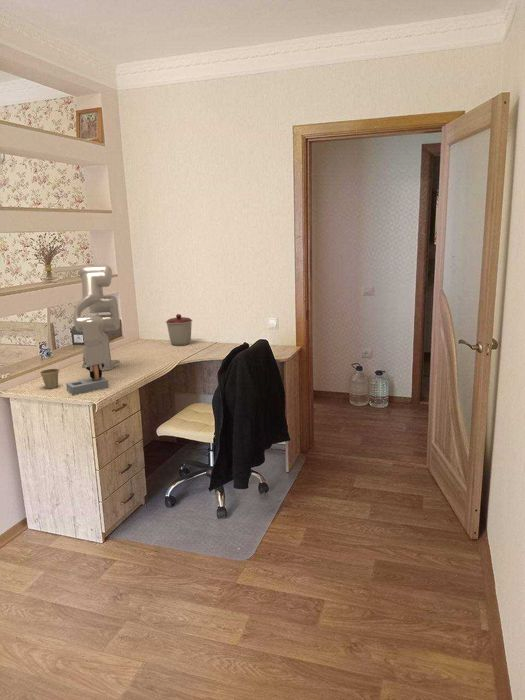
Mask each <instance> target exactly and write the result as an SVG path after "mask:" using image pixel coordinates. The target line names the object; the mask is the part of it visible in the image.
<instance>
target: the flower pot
mask: <svg viewBox="0 0 525 700" xmlns="http://www.w3.org/2000/svg"><path fill="white" fill-rule="evenodd" d="M59 372H60V369H59V368H47V369H44V370H41V371H40V372H39V374H40V375H41V377H42V380H43V384H44V386H45V387H44V388H46V389H54V387H55V388H57V387H59Z"/></svg>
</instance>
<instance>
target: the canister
mask: <svg viewBox="0 0 525 700" xmlns="http://www.w3.org/2000/svg"><path fill="white" fill-rule="evenodd" d="M192 322H193V319H191V318H190V317H187V316H186V317H185V316H184V317H182V314H180V313H177V314H176V317H172V318H169V319H168V320H165V324H166V327H167V332H168V336H169V340H170V344H171V345H172V346H177V347H181V346H187V345H189V344H190V343H191V340H192Z"/></svg>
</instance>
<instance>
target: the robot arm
mask: <svg viewBox="0 0 525 700" xmlns="http://www.w3.org/2000/svg"><path fill="white" fill-rule="evenodd" d="M78 273H79V278H80V279H81V290H82V299H81V300H80V301H79V302H78V303H77V304H76V307H75V309H74V312H73V318H74V319H73V322H74V323H73V325H74V328H75V330H76V331H77V332H82V333H83V341H84V342H83V343H84V346H83V347H82V361H83V363H82V364H81V368H82V369H85V370H87V371H89V377H90V378H92V379H95V378H94V372H93V367H92V366H93V365H98V369H99V377H100V378H101V377H102V376H103V372H105V371H110V370H113V369H114V368H115V364H119V363H120V362H121V361H120V360H119V359H112V356H111V355H112V354H111V345H110V339H109V336H108V334H106V333H105V332H114V331H118V330H119V329H120V328H121V322H120V312H119V311H120V310H119V304H118V300H117V297H116V296H115V295H111V294H110V295H104V292H103V291H104V290H103V288H107V287H109V286H110V285H111V283H112V277H113V271H112V268H111V267H110V266H109V265H89V266H87V265H86V266H81V267H80V268H79V269H78ZM86 309H89V311H90V312H91V313H94V314H95V315H92V316H87V315H86V316H81V314H82V313H83V311H84V310H86ZM97 313H98V314H97ZM99 313H100V314H99ZM101 313H109V314H101Z"/></svg>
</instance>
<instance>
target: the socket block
mask: <svg viewBox="0 0 525 700" xmlns="http://www.w3.org/2000/svg"><path fill="white" fill-rule="evenodd" d="M99 378H100V377H99ZM108 381H109V380H108V379H106V378H104V377H103V376H101V378H100V380H99V381H94V379H92V378H91V377H90V378H85V379H80V380H76V381H71V382H66V383H65V385H66V391H67V392H68V391H69V392H68V393H70V394H71V393H72V394H73V395H72V394H71V395H72V396H76V395H75V394H77V395H80V394H79V393H81V394H85V393H84V392H86V393H89V391H90V392H94V391H93V390H95V391H99V390H98V389H100V390H102V389H103V388H104V389H108V388H109V382H108ZM104 389H103V390H104Z"/></svg>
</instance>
